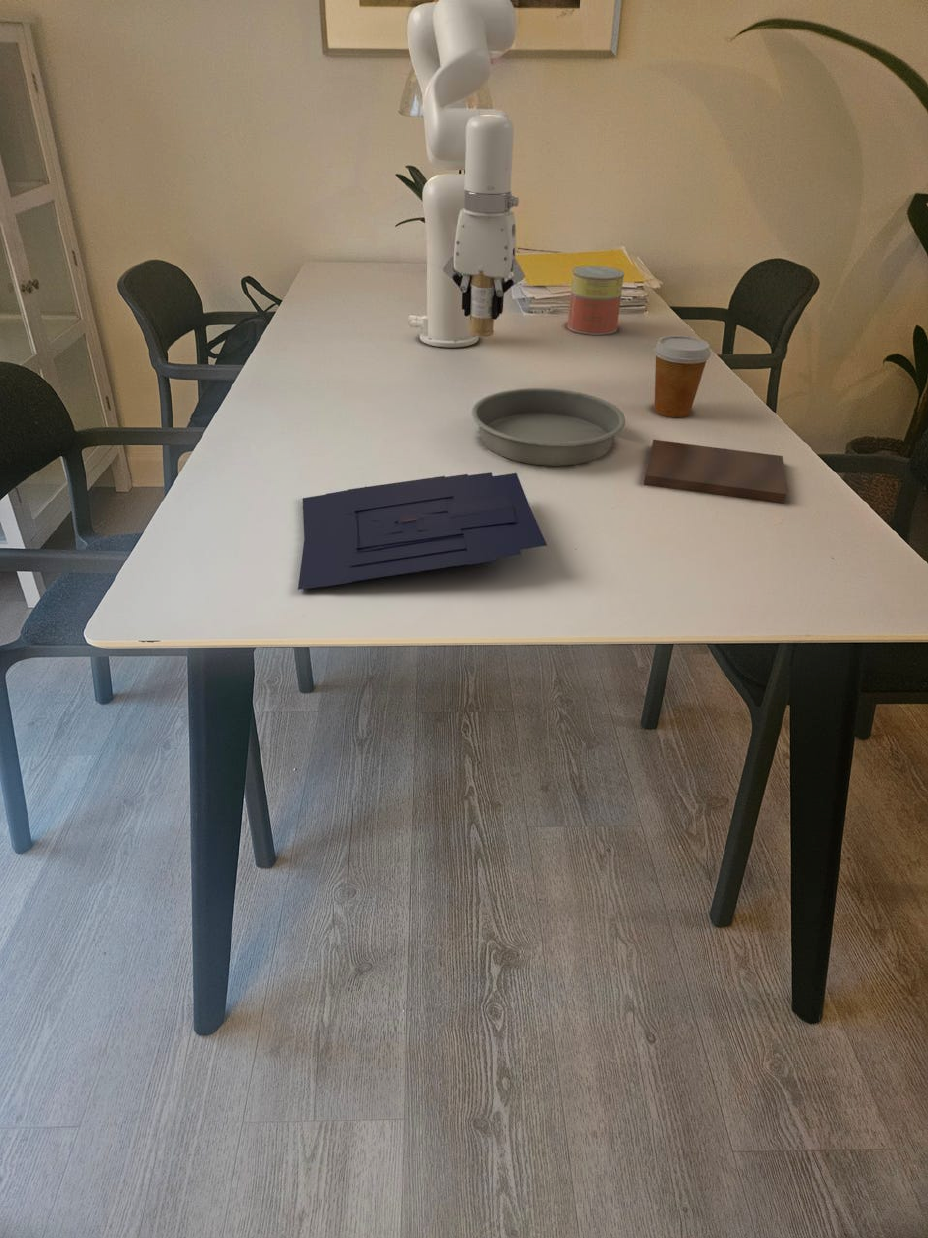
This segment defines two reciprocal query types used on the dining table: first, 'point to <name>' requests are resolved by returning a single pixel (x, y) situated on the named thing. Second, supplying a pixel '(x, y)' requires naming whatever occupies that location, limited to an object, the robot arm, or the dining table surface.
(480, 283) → the sprinkles bottle
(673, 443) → the walnut serving board
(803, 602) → the dining table surface
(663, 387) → the disposable coffee cup
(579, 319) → the canned food
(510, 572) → the dining table surface
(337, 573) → the papers
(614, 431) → the cake pan
